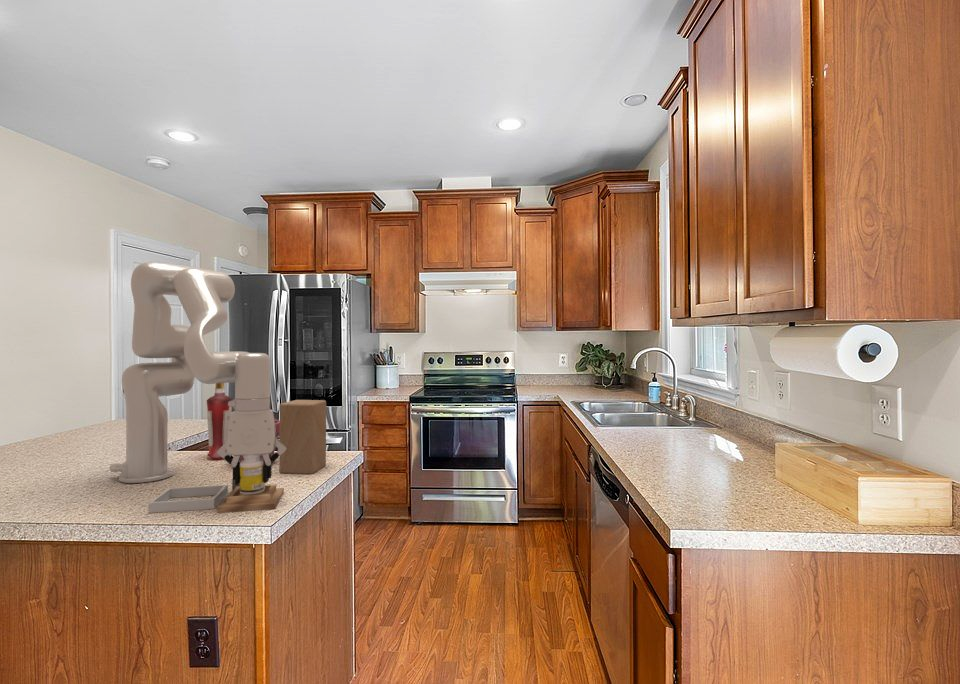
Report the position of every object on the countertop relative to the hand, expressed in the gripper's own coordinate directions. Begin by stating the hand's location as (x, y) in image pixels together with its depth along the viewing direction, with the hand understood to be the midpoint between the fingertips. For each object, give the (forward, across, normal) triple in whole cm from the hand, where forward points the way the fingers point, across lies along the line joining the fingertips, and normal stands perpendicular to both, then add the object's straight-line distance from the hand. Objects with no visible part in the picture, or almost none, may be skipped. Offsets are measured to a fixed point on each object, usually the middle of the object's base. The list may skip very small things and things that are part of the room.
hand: (252, 481), depth 116 cm
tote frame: (+5, -14, +2) cm, 15 cm away
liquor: (+5, -20, +48) cm, 53 cm away
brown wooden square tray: (+5, 0, 0) cm, 5 cm away
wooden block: (+5, +8, +28) cm, 30 cm away
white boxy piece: (+5, -3, +9) cm, 11 cm away
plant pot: (+5, -7, +38) cm, 39 cm away
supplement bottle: (+3, 0, 0) cm, 3 cm away
